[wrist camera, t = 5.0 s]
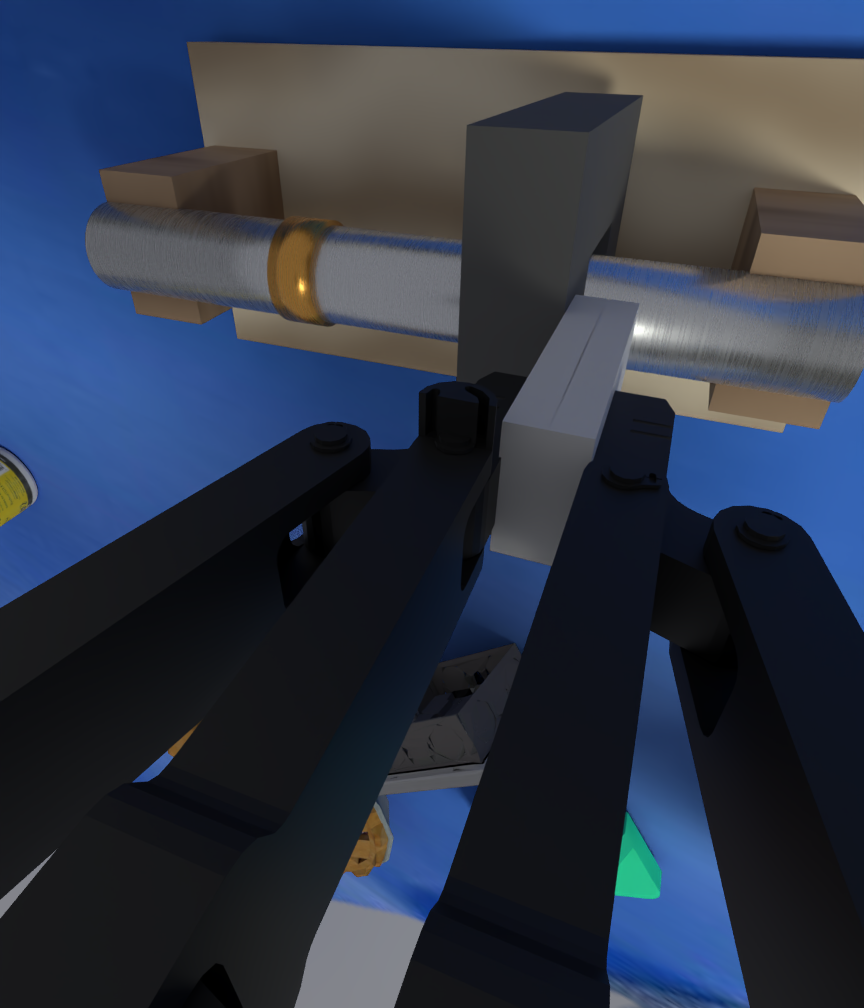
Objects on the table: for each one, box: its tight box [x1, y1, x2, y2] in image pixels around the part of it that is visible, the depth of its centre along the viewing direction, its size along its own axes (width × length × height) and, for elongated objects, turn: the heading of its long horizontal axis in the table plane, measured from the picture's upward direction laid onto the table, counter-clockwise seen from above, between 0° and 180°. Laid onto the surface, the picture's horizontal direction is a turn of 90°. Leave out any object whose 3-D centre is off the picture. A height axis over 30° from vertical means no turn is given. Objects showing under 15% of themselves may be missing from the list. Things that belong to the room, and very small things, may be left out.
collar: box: [456, 92, 643, 534], centre depth 19 cm, size 10×2×10 cm, turn 179°
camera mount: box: [615, 812, 662, 899], centre depth 45 cm, size 12×8×10 cm, turn 120°
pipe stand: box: [99, 42, 864, 433], centre depth 23 cm, size 12×25×8 cm, turn 89°
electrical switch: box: [379, 643, 521, 795], centre depth 39 cm, size 9×5×9 cm, turn 128°
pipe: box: [85, 202, 864, 403], centre depth 20 cm, size 3×24×3 cm, turn 89°
